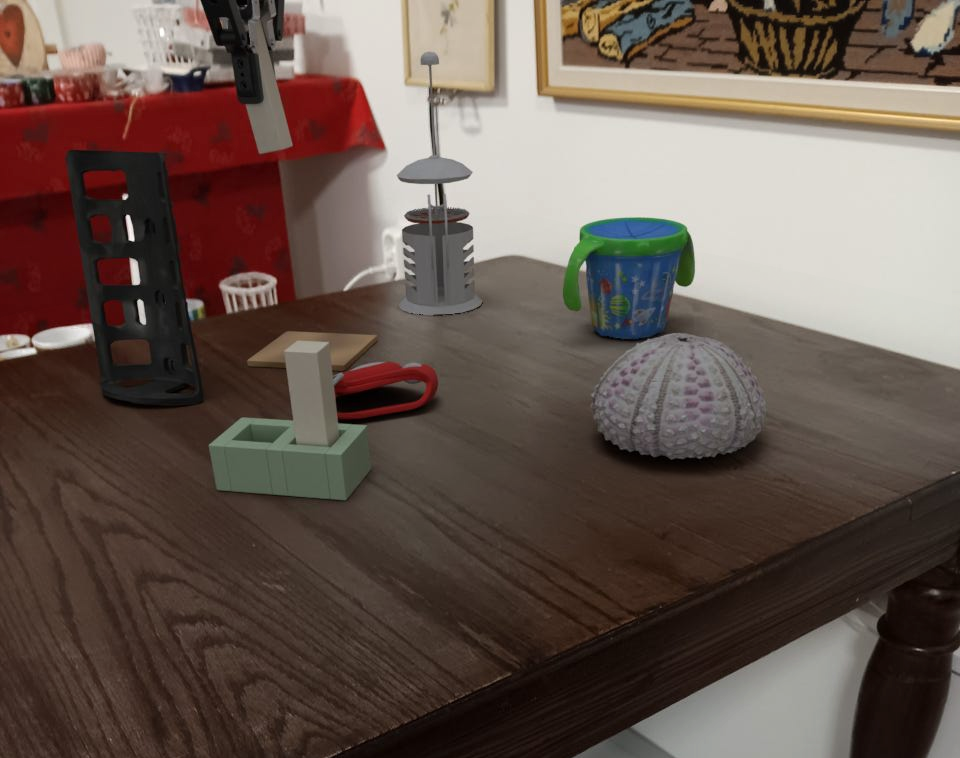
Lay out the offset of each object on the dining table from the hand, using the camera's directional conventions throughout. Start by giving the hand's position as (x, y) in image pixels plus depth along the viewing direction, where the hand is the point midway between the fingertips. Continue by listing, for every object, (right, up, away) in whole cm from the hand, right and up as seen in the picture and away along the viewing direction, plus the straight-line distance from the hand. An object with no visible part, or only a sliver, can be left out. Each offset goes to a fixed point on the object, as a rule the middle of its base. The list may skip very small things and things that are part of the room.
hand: (258, 100), depth 88 cm
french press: (+15, -10, +26) cm, 31 cm away
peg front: (+8, -36, -15) cm, 40 cm away
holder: (-10, -25, +3) cm, 27 cm away
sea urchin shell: (+35, -32, -9) cm, 49 cm away
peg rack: (+6, -36, -14) cm, 39 cm away
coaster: (+3, -19, +12) cm, 23 cm away
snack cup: (+35, -16, +15) cm, 41 cm away
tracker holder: (+10, -28, -1) cm, 29 cm away
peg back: (+1, -3, +2) cm, 4 cm away
